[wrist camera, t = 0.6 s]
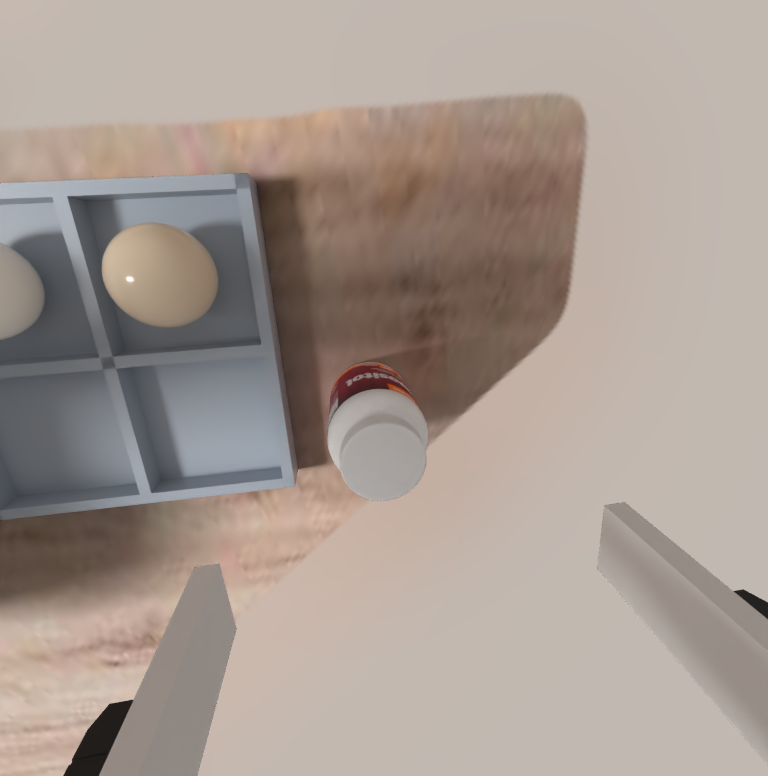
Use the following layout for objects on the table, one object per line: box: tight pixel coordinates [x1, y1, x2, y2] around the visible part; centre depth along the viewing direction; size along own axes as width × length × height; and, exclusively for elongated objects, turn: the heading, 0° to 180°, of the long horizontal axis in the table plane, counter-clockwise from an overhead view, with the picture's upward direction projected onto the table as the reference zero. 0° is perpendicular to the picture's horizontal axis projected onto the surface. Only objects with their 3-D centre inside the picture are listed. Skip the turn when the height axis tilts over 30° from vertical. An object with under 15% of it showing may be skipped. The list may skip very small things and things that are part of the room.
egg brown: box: [102, 222, 218, 328], centre depth 23 cm, size 6×6×6 cm
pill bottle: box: [328, 362, 428, 501], centre depth 26 cm, size 6×6×11 cm
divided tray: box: [0, 173, 298, 520], centre depth 27 cm, size 21×21×3 cm
